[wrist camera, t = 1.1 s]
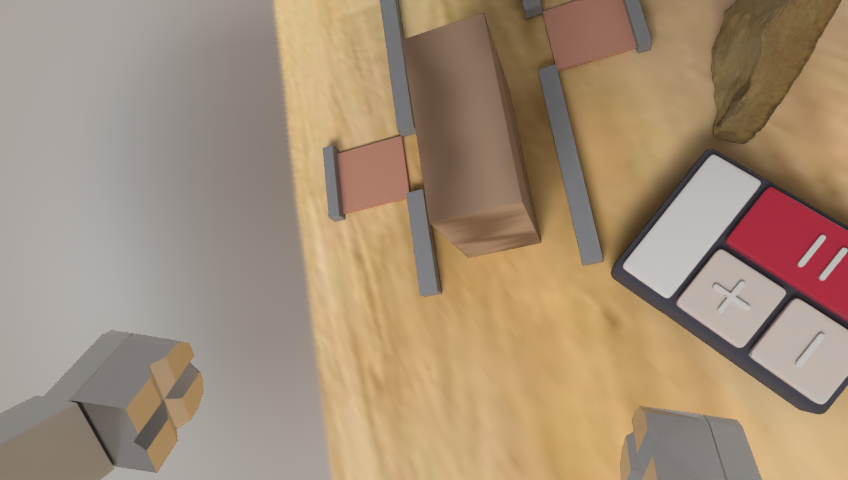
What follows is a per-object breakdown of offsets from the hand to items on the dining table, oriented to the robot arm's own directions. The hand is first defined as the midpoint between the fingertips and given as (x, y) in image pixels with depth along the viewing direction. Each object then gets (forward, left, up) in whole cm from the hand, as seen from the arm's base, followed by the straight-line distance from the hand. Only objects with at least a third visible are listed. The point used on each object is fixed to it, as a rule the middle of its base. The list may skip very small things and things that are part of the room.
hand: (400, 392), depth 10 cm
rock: (-18, -20, -33) cm, 43 cm away
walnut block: (+2, -18, -33) cm, 37 cm away
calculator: (-15, -5, -33) cm, 37 cm away
